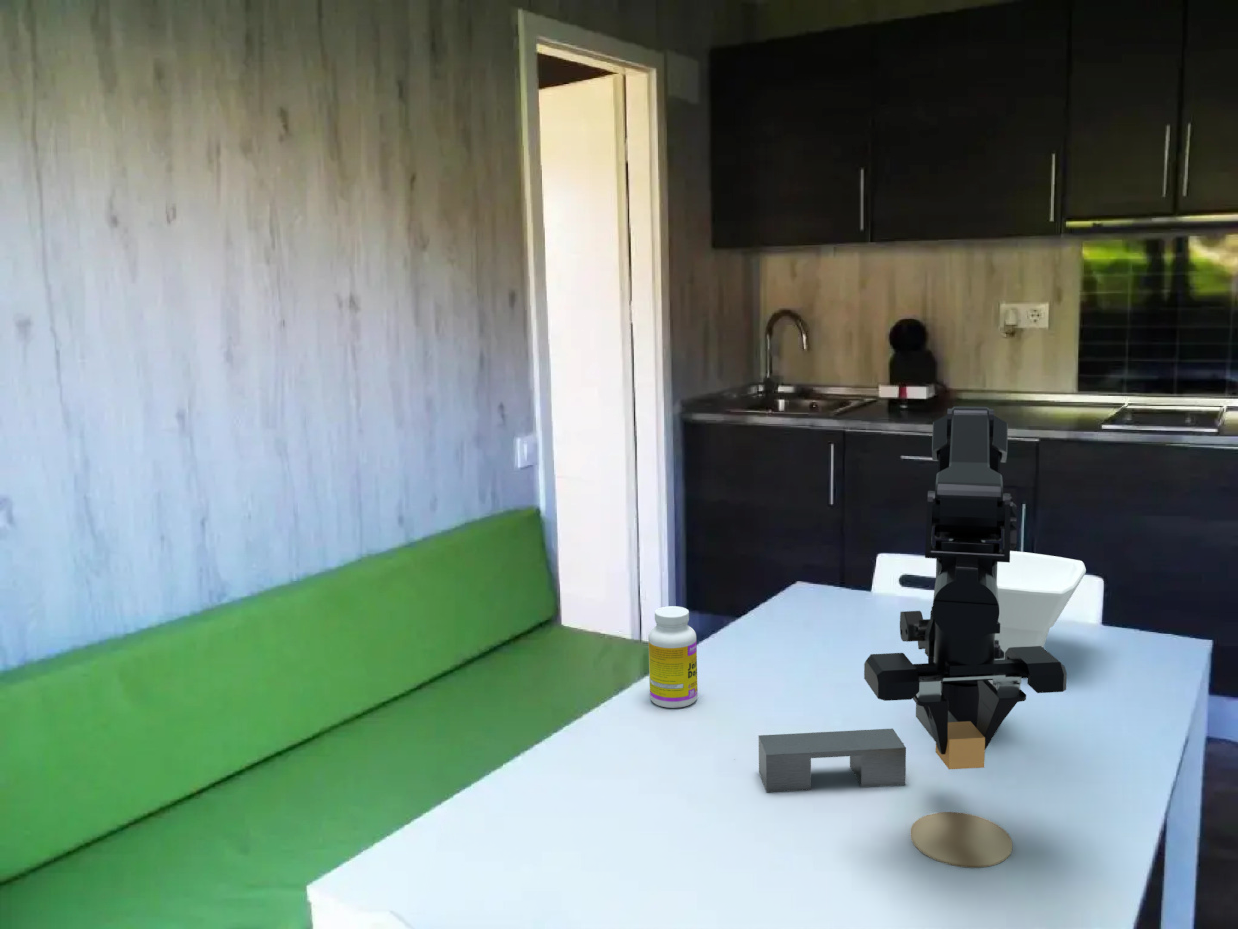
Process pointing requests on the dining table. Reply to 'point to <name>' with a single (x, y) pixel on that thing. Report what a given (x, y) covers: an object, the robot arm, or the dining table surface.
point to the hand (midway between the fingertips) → (961, 751)
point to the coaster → (961, 839)
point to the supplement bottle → (672, 659)
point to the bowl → (1033, 596)
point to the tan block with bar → (958, 742)
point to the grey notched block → (870, 756)
